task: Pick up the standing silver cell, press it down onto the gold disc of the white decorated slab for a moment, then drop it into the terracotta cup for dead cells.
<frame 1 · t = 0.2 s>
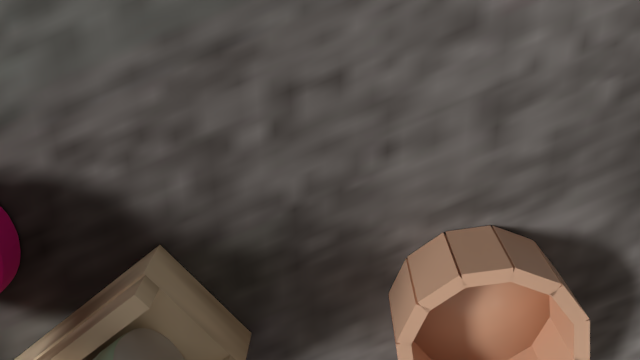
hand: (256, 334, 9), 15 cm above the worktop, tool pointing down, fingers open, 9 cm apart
trough rack: (130, 346, 28), on the worktop
cup: (473, 301, 27), on the worktop
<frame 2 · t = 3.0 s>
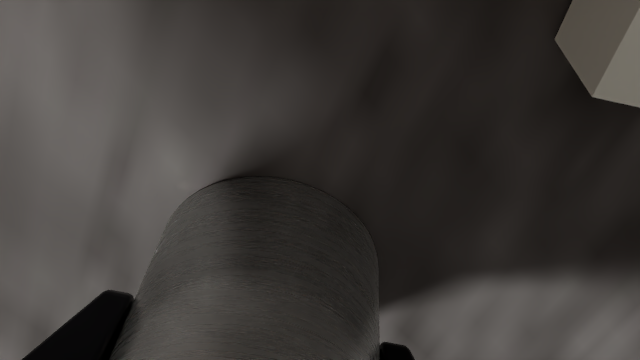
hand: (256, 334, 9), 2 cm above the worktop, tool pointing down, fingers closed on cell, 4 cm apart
cell: (269, 265, 10), on the worktop, touching gripper
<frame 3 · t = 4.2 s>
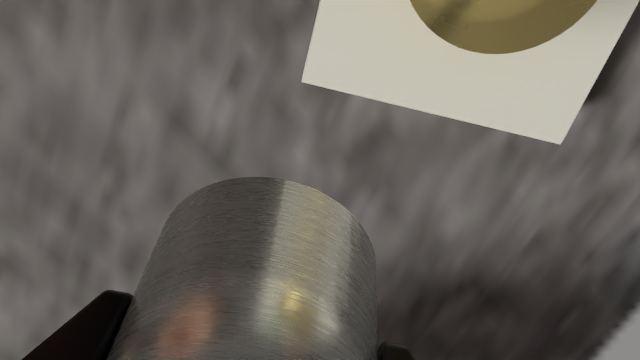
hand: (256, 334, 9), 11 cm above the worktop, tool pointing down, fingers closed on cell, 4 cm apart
cell: (267, 265, 10), point 10 cm above the worktop, touching gripper
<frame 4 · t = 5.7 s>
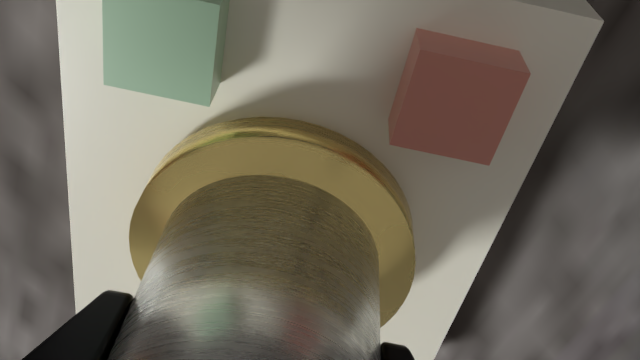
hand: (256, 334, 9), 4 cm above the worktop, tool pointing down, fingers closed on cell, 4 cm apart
cell: (269, 263, 10), point 3 cm above the worktop, touching gold disc, gripper
gold disc: (274, 248, 11), point 2 cm above the worktop, slide at -0.3 cm, touching cell
white decorated slab: (288, 175, 13), on the worktop
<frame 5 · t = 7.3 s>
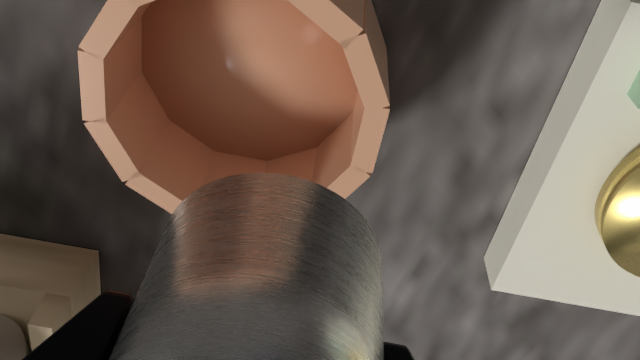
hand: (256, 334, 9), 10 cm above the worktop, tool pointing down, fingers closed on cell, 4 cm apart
cell: (272, 261, 10), point 9 cm above the worktop, touching gripper
trough rack: (32, 324, 25), on the worktop
cup: (254, 57, 18), on the worktop
when the fingers open (4 cm above the worktop, at t = 8.7 s): cell drops 2 cm, resting on cup.
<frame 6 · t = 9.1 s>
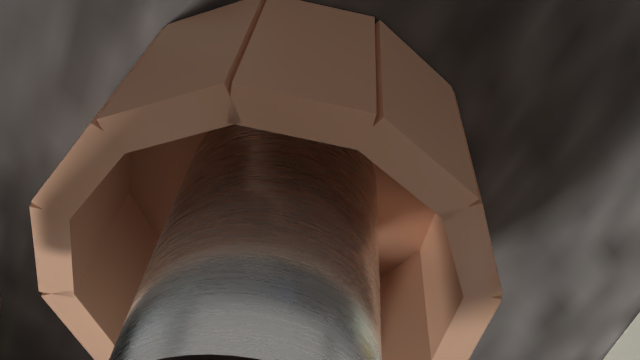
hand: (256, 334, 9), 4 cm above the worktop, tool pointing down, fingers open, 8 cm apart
cell: (283, 188, 12), point 1 cm above the worktop, touching cup
cup: (286, 174, 13), on the worktop
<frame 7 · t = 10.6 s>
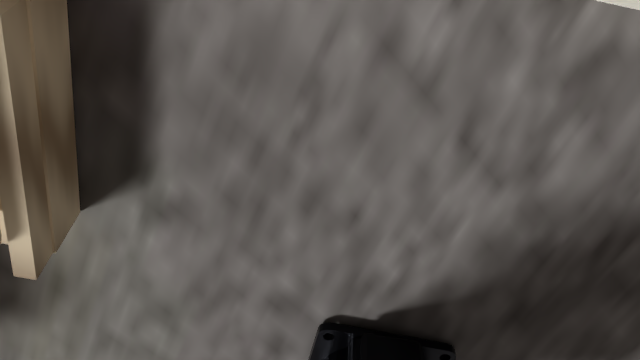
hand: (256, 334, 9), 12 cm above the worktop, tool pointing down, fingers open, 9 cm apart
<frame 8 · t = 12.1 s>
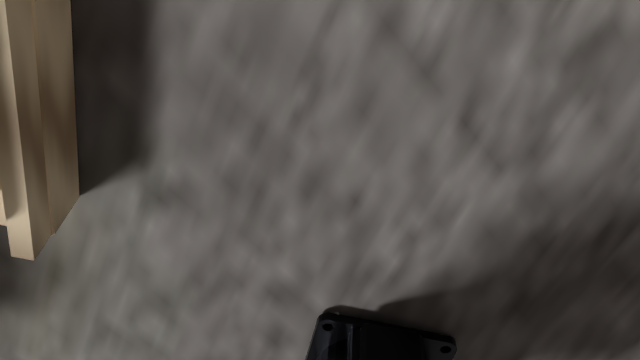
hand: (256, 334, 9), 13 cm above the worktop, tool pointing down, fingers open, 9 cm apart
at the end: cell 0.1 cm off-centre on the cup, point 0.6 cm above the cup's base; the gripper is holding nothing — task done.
